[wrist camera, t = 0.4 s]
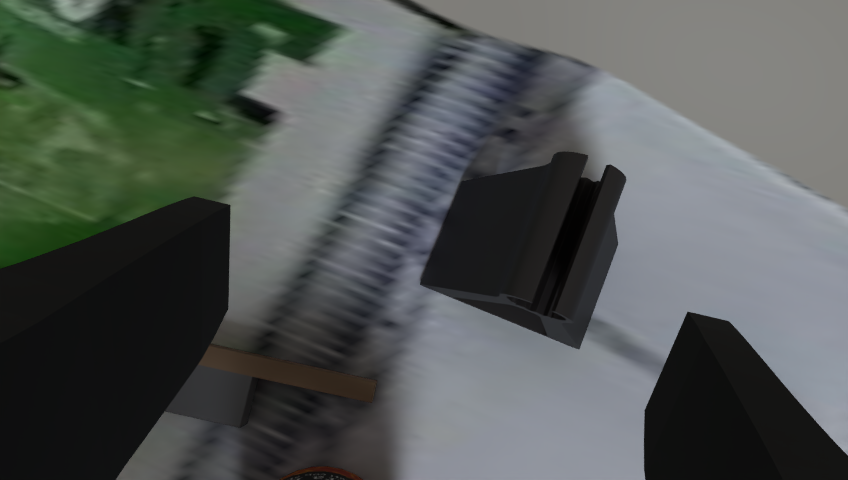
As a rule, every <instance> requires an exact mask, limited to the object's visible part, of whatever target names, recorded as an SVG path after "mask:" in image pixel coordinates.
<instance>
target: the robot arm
mask: <svg viewBox="0 0 848 480" xmlns="http://www.w3.org/2000/svg"><path fill="white" fill-rule="evenodd" d="M229 249H230V205H228V204H224V203H220V202H215V201H211V200H207V199H202V198H198V197H191V198H187V199H184V200H181V201H178V202H176V203H173V204H170V205H168V206H165V207H163V208H160V209H158V210H155V211H153V212H150V213H148V214H145V215H143V216H141V217H138V218H136V219H133V220H131V221H128V222H126V223H124V224H121V225H119V226H116V227H114V228H111V229H109V230H106V231H104V232H101V233H99V234H96V235H94V236H91V237H89V238H86V239H84V240H81V241H79V242H76V243H73V244H70V245H67V246H65V247H62V248H59V249H56V250H53V251H51V252H48V253H45V254H42V255H40V256H37V257H34V258H31V259H28V260H26V261H23V262H20V263H17V264H14V265H11V266H8V267H5V268H2V269H0V480H116V478H117V477H118V475H119V474H120V472H121V471H122V469H123V468H124V466H125V465H126V464H127V462H128V461H129V459H130V458H131V457H132V455H133V454H134V453H135V451H136V450H137V448H138V447H139V446H140V444H141V443H142V442H143V440H144V439H145V437H146V436H147V435H148V433H149V432H150V431H151V429H152V428H153V426H154V425H155V424H156V422H157V421H158V420H159V418H160V417H161V415H162V414H163V413H164V411H165V410H166V409H167V407H168V406H169V405H170V403H171V402H172V400H173V399H174V398H175V396H176V395H177V393H178V392H179V391H180V389H181V388H182V386H183V385H184V384H185V382H186V381H187V379H188V378H189V377H190V375H191V374H192V372H193V371H194V370H195V368H196V367H197V365H198V364H199V362H200V361H201V360H202V358H203V356H204V354H205V352H206V351H207V349H208V347H209V345H210V343H211V341H212V340H213V338H214V336H215V334H216V332H217V330H218V328H219V326H220V324H221V322H222V320H223V318H224V316H225V314H226V312H227V310H228V297H229ZM644 471H645V479H646V480H848V456H847V454H846V453H845V452H844V451H843V450H842V449H841V448H840V447H839V446H838V445H837V444H836V443H835V442H834V441H833V440H832V439H831V438H830V437H829V435H828V434H827V433H826V432H825V431H824V430H823V429H822V428H821V427H820V426H819V424H818V423H817V422H816V421H815V420H814V419H813V418H812V417H811V416H810V414H809V413H808V412H807V411H806V410H805V409H804V408H803V406H802V405H801V404H800V403H799V402H798V401H797V400H796V398H795V397H794V396H793V395H792V394H791V393H790V391H789V390H788V389H787V388H786V387H785V386H784V384H783V383H782V382H781V381H780V380H779V378H778V377H777V376H776V375H775V374H774V372H773V371H772V370H771V369H770V368H769V367H768V365H767V364H766V363H765V362H764V361H763V359H762V358H761V357H760V356H759V355H758V353H757V352H756V351H755V350H754V349H753V348H752V346H751V345H750V344H749V343H748V342H747V341H746V339H745V338H744V337H743V336H742V335H741V334H740V333H739V332H738V330H737V329H736V328H735V327H734V326H733V325H732V324H731V323H730V322H729V321H726V320H721V319H717V318H713V317H708V316H704V315H700V314H696V313H691V312H687V314H686V317H685V319H684V321H683V324H682V326H681V328H680V330H679V333H678V335H677V337H676V340H675V342H674V344H673V347H672V349H671V351H670V353H669V356H668V358H667V360H666V363H665V365H664V367H663V370H662V372H661V374H660V377H659V379H658V381H657V383H656V386H655V388H654V390H653V393H652V395H651V397H650V400H649V402H648V404H647V406H646V409H645V424H644Z"/></svg>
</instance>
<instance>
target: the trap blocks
mask: <svg viewBox="0 0 848 480" xmlns="http://www.w3.org/2000/svg"><path fill="white" fill-rule="evenodd" d="M257 382H258V378H256V377H252V376H247V375H243V374H238V373H233V372H229V371H224V370H220V369H215V368H211V367H206V366H202V365H197V367H196V368H195V370H194V371H193V372H192V374H191V375H190V377H189V378H188V379H187V381H186V382H185V384H184V385H183V386H182V388H181V389H180V391H179V392H178V393H177V395H176V396H175V398H174V399H173V400H172V402H171V403H170V405H169V406H168V407H167V409H166V410H165V411H166V412H170V413H175V414H179V415H184V416H188V417H193V418H198V419H202V420H207V421H211V422H216V423H220V424H225V425H229V426H234V427H238V428H240V427H242V426H244V425H245V424H247V422H248V418H249V414H250V410H251V406H252V402H253V398H254V394H255V390H256V386H257Z"/></svg>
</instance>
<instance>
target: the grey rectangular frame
mask: <svg viewBox="0 0 848 480" xmlns="http://www.w3.org/2000/svg"><path fill="white" fill-rule="evenodd" d="M198 365H202V366H206V367H211V368H215V369H220V370H224V371H229V372H233V373H238V374H243V375H247V376H252V377H256V378H261V379H265V380H270V381H274V382H279V383H283V384H288V385H292V386H297V387H301V388H306V389H311V390H315V391H320V392H324V393H329V394H333V395H338V396H342V397H347V398H351V399H356V400H360V401H365V402H370V403H372V401H373V397H374V393H375V388H376V384H377V380H372V379H367V378H363V377H358V376H354V375H349V374H345V373H340V372H336V371H331V370H327V369H322V368H318V367H313V366H309V365H304V364H299V363H295V362H290V361H286V360H281V359H277V358H272V357H268V356H263V355H259V354H254V353H250V352H245V351H241V350H236V349H231V348H227V347H222V346H218V345H213V344H210V345H209V347H208V349H207V351H206V352H205V354H204V356H203V358H202V360H201V361H200V362H199V364H198Z"/></svg>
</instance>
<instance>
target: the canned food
mask: <svg viewBox="0 0 848 480" xmlns="http://www.w3.org/2000/svg"><path fill="white" fill-rule="evenodd" d="M280 480H363V479H361V478H360V477H358V476H357V475H355V474H353V473H350V472H348V471H345V470H343V469H339V468H333V467H328V466H324V467H310V468H306V469H301V470H297V471H295V472H293V473H291V474H289V475H287V476H285V477H283V478H281V479H280Z"/></svg>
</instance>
